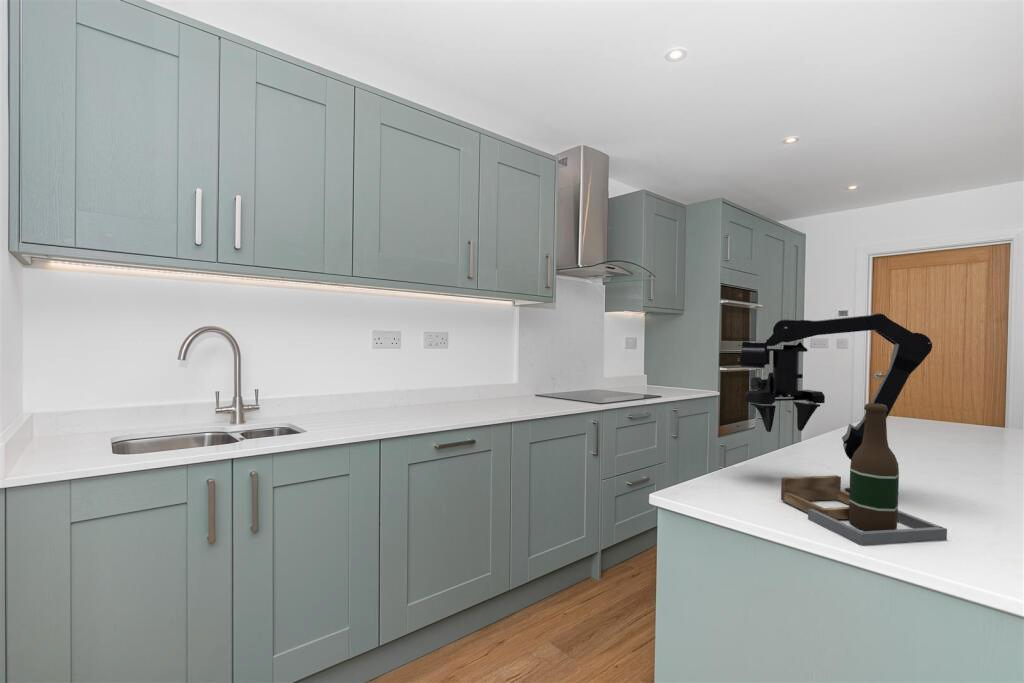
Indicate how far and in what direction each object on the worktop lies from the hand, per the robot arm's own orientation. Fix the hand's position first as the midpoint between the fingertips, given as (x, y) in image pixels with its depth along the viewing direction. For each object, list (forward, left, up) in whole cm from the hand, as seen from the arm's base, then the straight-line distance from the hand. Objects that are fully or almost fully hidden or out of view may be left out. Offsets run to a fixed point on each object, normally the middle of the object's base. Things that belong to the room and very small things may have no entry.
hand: (784, 431), depth 125 cm
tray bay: (+4, +29, -13) cm, 32 cm away
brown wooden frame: (+4, +19, -13) cm, 23 cm away
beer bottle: (+3, +29, -13) cm, 32 cm away
